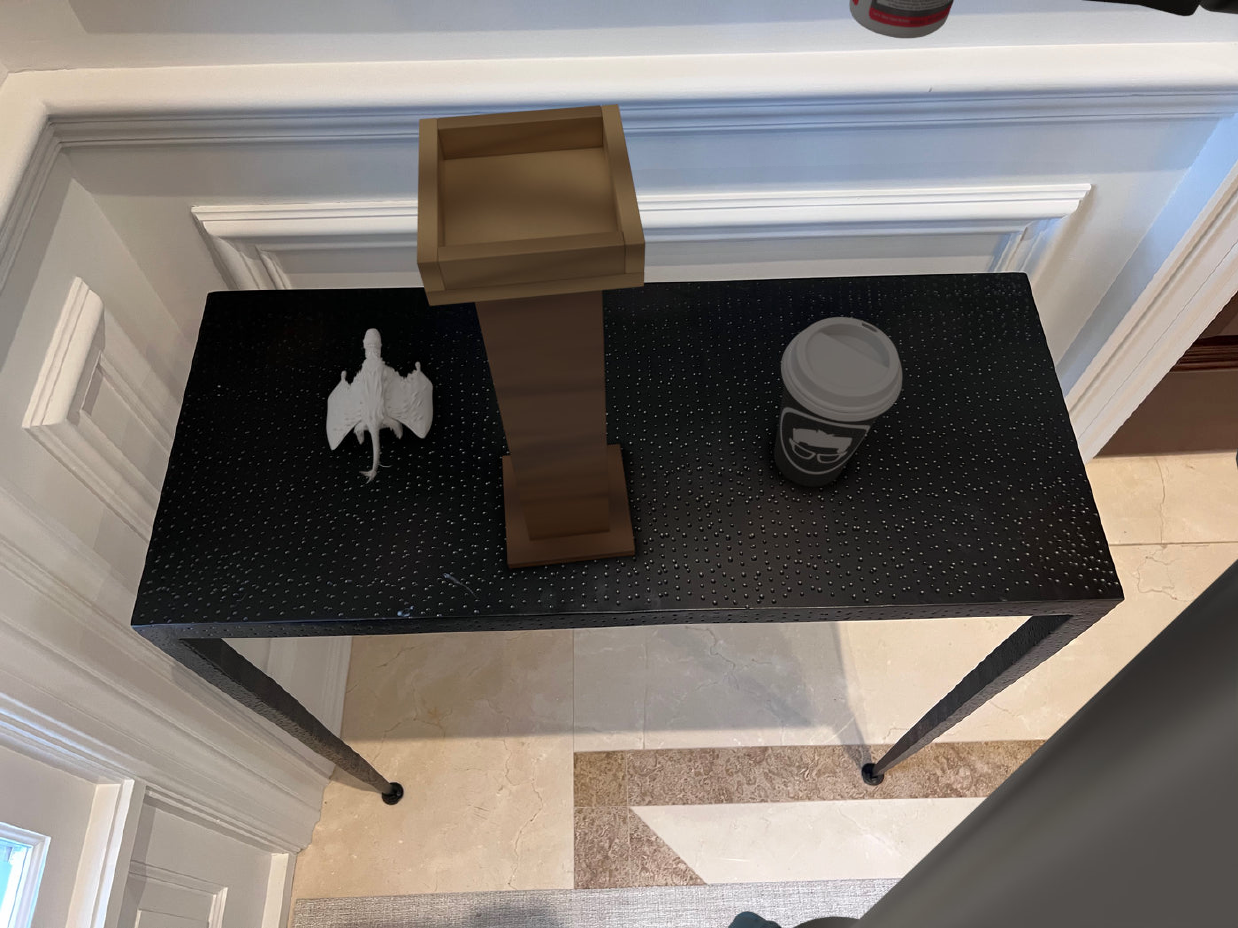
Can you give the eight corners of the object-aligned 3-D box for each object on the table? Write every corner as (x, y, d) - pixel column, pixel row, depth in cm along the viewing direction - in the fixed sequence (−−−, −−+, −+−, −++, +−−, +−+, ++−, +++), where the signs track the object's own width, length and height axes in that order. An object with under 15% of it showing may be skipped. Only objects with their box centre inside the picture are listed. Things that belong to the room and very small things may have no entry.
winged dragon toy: (438, 494, 72) (428, 471, 69) (325, 509, 71) (309, 487, 68) (431, 343, 81) (422, 316, 78) (331, 355, 81) (317, 328, 77)
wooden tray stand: (635, 554, 69) (645, 242, 38) (509, 569, 68) (416, 263, 37) (619, 449, 75) (618, 103, 44) (503, 461, 74) (418, 118, 43)
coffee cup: (881, 472, 73) (936, 372, 60) (798, 518, 71) (837, 425, 58) (818, 400, 77) (856, 292, 65) (737, 441, 75) (761, 338, 62)
